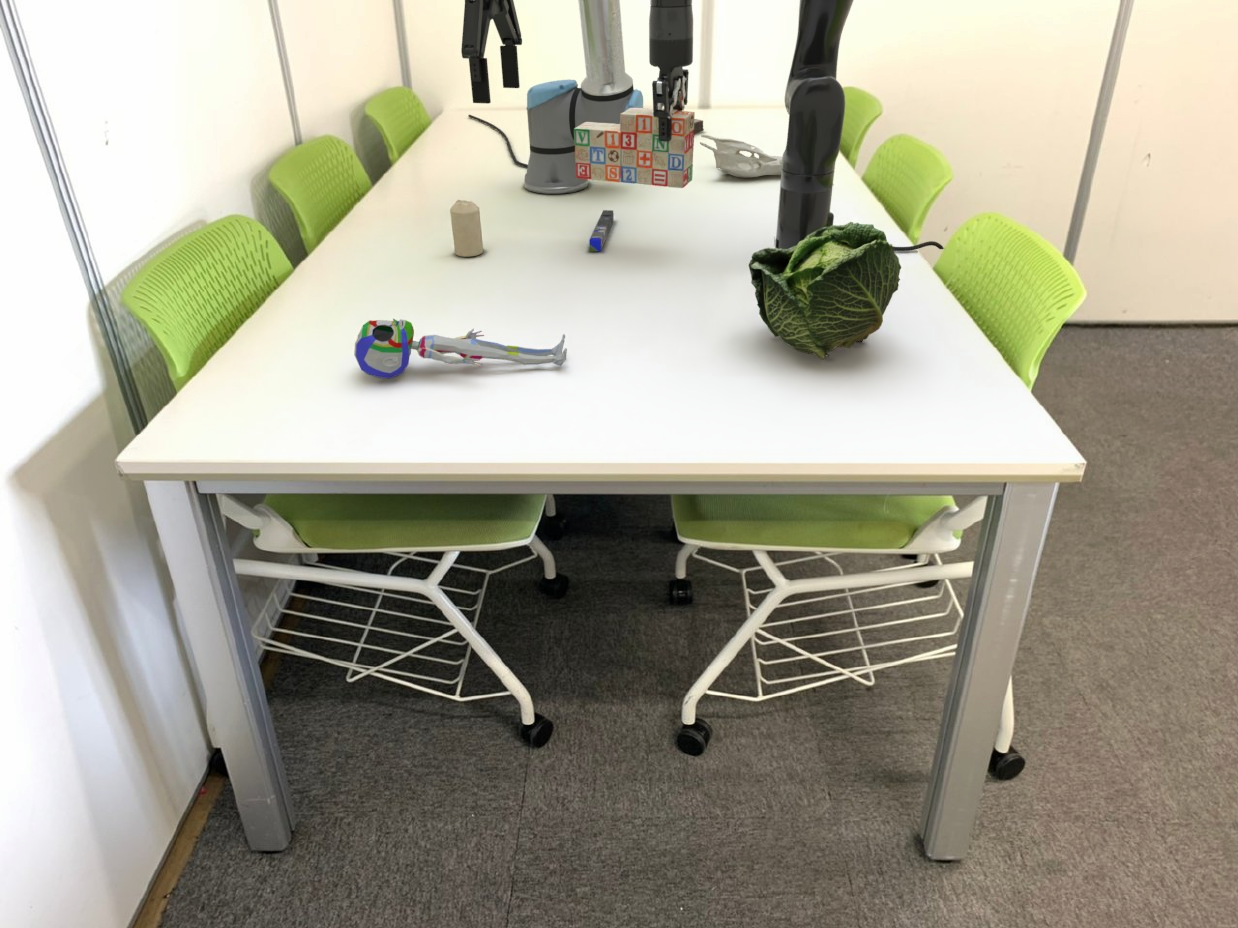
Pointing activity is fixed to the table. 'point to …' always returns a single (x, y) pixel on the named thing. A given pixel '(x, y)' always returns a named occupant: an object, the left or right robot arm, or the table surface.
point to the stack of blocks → (636, 150)
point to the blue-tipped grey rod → (601, 230)
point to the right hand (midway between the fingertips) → (670, 136)
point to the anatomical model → (743, 159)
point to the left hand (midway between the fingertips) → (497, 95)
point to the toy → (435, 349)
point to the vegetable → (826, 287)
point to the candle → (466, 228)
